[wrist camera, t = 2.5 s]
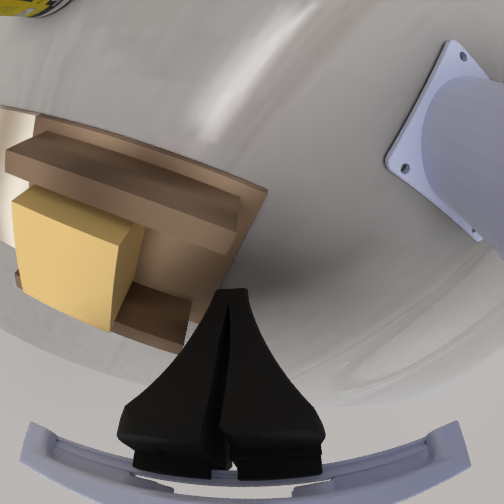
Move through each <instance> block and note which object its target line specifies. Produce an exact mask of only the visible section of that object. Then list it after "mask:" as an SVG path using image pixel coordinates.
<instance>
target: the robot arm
mask: <svg viewBox="0 0 504 504" xmlns="http://www.w3.org/2000/svg"><path fill="white" fill-rule="evenodd" d="M460 54H461V55H462V60H461V58H460ZM405 163H406V168H405V169H404V170H403V171H401V169H400V168H401V166H402V165H403V164H405ZM385 164H386V167H387V168H388V169H389V170H390V171H391V172H393V173H394V174H395V175H397V176H398V177H400V178H401V179H402V180H404V181H405V182H407V183H408V184H409V185H411V186H412V187H413V188H415V189H416V190H417V191H419V192H420V193H421V194H422V195H424V196H425V197H426V198H428V199H429V200H430V201H431V202H433V203H434V204H435V205H436V206H437V207H439V208H440V209H441V210H442V211H443V212H445V213H446V214H447V215H448V216H449V217H450V218H452V219H453V220H454V221H455V222H456V223H457V224H458V225H459V226H461V227H462V228H463V229H464V230H465V231H466V232H467V233H468V234H469V235H470V236H471V237H472V238H473V239H474V240H476V241H477V242H479V241H481V240H482V239H484V240H485V241H486V242H487V243H488V244H489V245H490V246H491V247H492V248H493V249H494V250H495V251H496V252H497V253H498V254H499V255H500V256H501V257H502V258H503V260H504V83H501V82H496V81H492V80H490V79H489V78H488V76H487V75H486V74H485V72H484V71H483V70H482V69H481V67H480V66H479V65H478V64H477V63H476V61H475V60H474V59H473V58H472V57H471V56H470V54H469V53H468V52H467V51H466V50H465V49H464V48H463V47H462V46H461V45H460V43H458V42H457V41H455V40H449V41H447V42H446V43H445V46H444V48H443V50H442V52H441V54H440V56H439V59H438V61H437V63H436V65H435V67H434V69H433V71H432V73H431V75H430V77H429V79H428V81H427V83H426V85H425V87H424V89H423V91H422V93H421V95H420V97H419V99H418V101H417V102H416V104H415V106H414V108H413V110H412V112H411V114H410V115H409V117H408V119H407V121H406V123H405V125H404V126H403V128H402V130H401V132H400V133H399V135H398V137H397V139H396V140H395V142H394V144H393V146H392V147H391V149H390V151H389V152H388V154H387V156H386V159H385ZM325 435H326V434H325V430H324V427H323V424H322V422H321V420H320V418H319V416H318V414H317V413H316V410H315V409H314V407H313V406H312V405H311V404H310V403H309V402H308V401H307V400H306V399H305V398H304V397H303V396H302V394H301V393H300V392H299V391H298V390H297V389H296V387H295V386H294V385H293V384H292V383H291V381H290V380H289V378H288V377H287V376H286V374H285V373H284V372H283V370H282V369H281V368H280V366H279V365H278V363H277V362H276V360H275V358H274V357H273V355H272V353H271V352H270V350H269V348H268V347H267V345H266V343H265V341H264V339H263V337H262V335H261V333H260V331H259V328H258V326H257V324H256V321H255V318H254V316H253V313H252V310H251V307H250V303H249V297H248V290H247V289H246V288H237V289H217V290H216V291H215V293H214V295H213V298H212V300H211V302H210V304H209V306H208V308H207V310H206V312H205V314H204V316H203V318H202V319H201V321H200V323H199V325H198V327H197V328H196V330H195V331H194V333H193V334H192V336H191V338H190V339H189V341H188V342H187V344H186V345H185V346H184V348H183V349H182V351H181V352H180V353H179V354H178V356H177V357H176V358H175V359H174V361H173V362H172V363H171V364H170V365H169V366H168V368H167V369H166V370H165V371H164V372H163V373H162V374H161V375H160V376H159V377H158V378H157V379H156V380H155V381H154V382H153V383H152V384H151V385H150V386H149V387H148V388H147V389H145V390H144V391H143V392H142V393H141V394H140V395H138V396H137V397H136V398H134V399H133V400H132V401H131V402H129V403H128V404H127V405H126V406H125V407H124V410H123V413H122V415H121V418H120V422H119V427H118V431H117V437H118V439H119V440H120V441H121V442H123V443H124V444H126V445H127V446H129V447H130V448H132V449H133V450H135V453H134V458H133V459H131V458H126V457H122V456H117V455H114V454H110V453H107V452H103V451H100V450H96V449H93V448H90V447H87V446H84V445H81V444H78V443H75V442H72V441H69V440H67V439H64V438H61V437H58V436H57V435H56V434H54V433H53V432H52V431H50V430H48V429H47V428H45V427H42V426H40V425H38V424H36V423H33V422H30V424H29V427H28V430H27V434H26V437H25V440H24V444H23V447H22V451H21V455H20V459H19V461H20V462H21V463H22V464H24V465H25V466H27V467H29V468H30V469H32V470H34V471H35V472H38V473H39V474H41V475H42V476H44V477H46V478H48V479H50V480H51V481H53V482H55V483H57V484H59V485H60V486H62V487H65V488H66V489H68V490H70V491H72V492H74V493H77V494H79V495H81V496H83V497H85V498H88V499H90V500H92V501H95V502H97V503H99V504H396V503H398V502H401V501H404V500H406V499H408V498H411V497H413V496H416V495H418V494H420V493H422V492H424V491H426V490H429V489H431V488H432V487H435V486H437V485H439V484H441V483H443V482H445V481H447V480H449V479H450V478H452V477H454V476H456V475H458V474H460V473H461V472H463V471H465V470H467V469H468V468H470V467H471V463H470V459H469V455H468V452H467V448H466V445H465V441H464V438H463V435H462V432H461V429H460V426H459V423H458V421H454V422H451V423H449V424H447V425H445V426H443V427H440V428H438V429H436V430H434V431H432V432H430V433H429V434H428V435H427V436H426V437H424V438H422V439H419V440H416V441H413V442H411V443H408V444H405V445H402V446H399V447H395V448H392V449H389V450H386V451H382V452H378V453H375V454H371V455H367V456H363V457H358V458H354V459H349V460H345V461H340V462H334V463H329V464H322V461H321V455H322V450H321V443H322V442H323V440H324V439H325ZM232 461H233V463H234V464H235V466H236V467H237V471H229V469H230V468H231V467H232ZM134 474H135V475H140V476H144V477H150V478H154V479H160V480H166V481H173V482H181V483H188V484H198V485H209V486H228V487H259V486H260V487H261V486H280V485H292V484H301V483H310V482H317V481H323V480H329V479H331V480H330V481H325V482H320V483H314V484H310V485H304V486H298V487H295V488H294V491H292V497H290V498H273V499H230V498H213V497H200V496H191V495H183V494H174V489H173V488H171V487H168V486H164V485H161V484H159V483H157V482H155V481H151V480H147V479H143V478H139V477H136V476H135V475H134Z"/></svg>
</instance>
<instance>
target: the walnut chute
mask: <svg viewBox="0 0 504 504" xmlns="http://www.w3.org/2000/svg"><path fill="white" fill-rule="evenodd" d="M34 184H36V185H38V186H41V187H43V188H46V189H49V190H51V191H54V192H56V193H59V194H61V195H64V196H67V197H69V198H72V199H74V200H77V201H80V202H82V203H85V204H87V205H90V206H93V207H95V208H98V209H101V210H103V211H106V212H109V213H111V214H114V215H116V216H119V217H122V218H124V219H127V220H130V221H132V222H135V223H138V224H140V225H143V226H146V228H145V232H144V236H143V240H142V245H141V249H140V254H139V258H138V263H137V268H136V272H135V277H134V279H133V281H132V283H131V285H130V287H129V290H128V292H127V294H126V296H125V298H124V301H123V303H122V305H121V307H120V310H119V312H118V314H117V316H116V319H115V321H114V323H113V326H112V328H111V332H114V333H116V334H119V335H122V336H124V337H127V338H130V339H132V340H135V341H138V342H141V343H144V344H146V345H149V346H152V347H155V348H158V349H161V350H164V351H168V352H171V353H174V354H177V355H178V354H179V353H180V352H181V350H182V348H183V346H184V341H185V336H186V331H187V326H188V321H192V322H195V323H200V321H201V319H202V318H203V316H204V314H205V312H206V310H207V308H208V306H209V304H210V302H211V300H212V298H213V295H214V293H215V291H216V290H217V289H219V287H220V285H221V283H222V281H223V279H224V277H225V275H226V273H227V271H228V269H229V267H230V265H231V263H232V262H233V260H234V258H235V256H236V254H237V252H238V250H239V248H240V246H241V244H242V242H243V240H244V238H245V236H246V234H247V232H248V230H249V228H250V226H251V224H252V222H253V220H254V219H255V217H256V215H257V213H258V211H259V209H260V207H261V205H262V203H263V201H264V199H265V197H266V195H267V189H264V188H262V187H260V186H257V185H255V184H252V183H250V182H248V181H245V180H243V179H240V178H238V177H235V176H233V175H230V174H228V173H225V172H223V171H220V170H218V169H215V168H213V167H210V166H207V165H205V164H202V163H199V162H197V161H194V160H191V159H189V158H186V157H183V156H180V155H177V154H175V153H172V152H169V151H166V150H163V149H160V148H157V147H154V146H152V145H149V144H146V143H142V142H139V141H136V140H133V139H130V138H127V137H124V136H121V135H117V134H114V133H111V132H107V131H104V130H101V129H97V128H94V127H90V126H87V125H83V124H79V123H76V122H72V121H68V120H64V119H60V118H56V117H52V116H48V115H44V114H39V113H35V112H31V111H26V110H21V109H16V108H11V107H6V106H1V105H0V240H1V241H3V242H5V243H7V244H8V245H10V246H12V247H14V248H15V241H14V232H13V221H12V204H11V201H12V200H13V199H15V198H16V197H17V196H19V195H20V194H21V193H23V192H24V191H25V190H27V189H28V188H30V187H31V186H32V185H34ZM15 279H16V283H17V287H19V288H21V289H22V290H23V288H22V283H21V278H20V273H19V269H18V270H17V271H16V272H15Z"/></svg>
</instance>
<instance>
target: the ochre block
mask: <svg viewBox="0 0 504 504" xmlns="http://www.w3.org/2000/svg"><path fill="white" fill-rule="evenodd" d="M11 204H12V221H13V232H14V241H15V249H16V255H17V262H18V268H19V273H20V278H21V283H22V288H23V292H24V293H26V294H28V295H30V296H32V297H33V298H35V299H37V300H39V301H41V302H43V303H45V304H47V305H49V306H51V307H53V308H55V309H57V310H59V311H61V312H63V313H65V314H67V315H69V316H72V317H74V318H76V319H78V320H80V321H83V322H85V323H87V324H89V325H92V326H94V327H97V328H99V329H101V330H104V331H106V332H109V333H110V331H111V328H112V326H113V323H114V321H115V319H116V316H117V314H118V312H119V310H120V307H121V305H122V303H123V301H124V298H125V296H126V294H127V292H128V290H129V287H130V285H131V283H132V281H133V279H134V277H135V272H136V268H137V263H138V258H139V254H140V249H141V245H142V240H143V236H144V232H145V228H146V226H143V225H140V224H138V223H135V222H132V221H130V220H127V219H124V218H122V217H119V216H116V215H114V214H111V213H109V212H106V211H103V210H101V209H98V208H95V207H93V206H90V205H87V204H85V203H82V202H80V201H77V200H74V199H72V198H69V197H67V196H64V195H61V194H59V193H56V192H54V191H51V190H49V189H46V188H43V187H41V186H38V185H36V184H34V185H32V186H31V187H30V188H28V189H27V190H25V191H24V192H23V193H21V194H20V195H19V196H17V197H16V198H15V199H13V200H12V201H11Z"/></svg>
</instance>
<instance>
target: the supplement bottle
mask: <svg viewBox="0 0 504 504" xmlns="http://www.w3.org/2000/svg"><path fill="white" fill-rule="evenodd" d="M68 1H69V0H0V16H20V17H33V18H37V17H42V16H46V15H48V14H50V13H52V12H54V11H56V10H58V9H59V8H61V7H62V6H63V5H65V4H66V3H67V2H68Z"/></svg>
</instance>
